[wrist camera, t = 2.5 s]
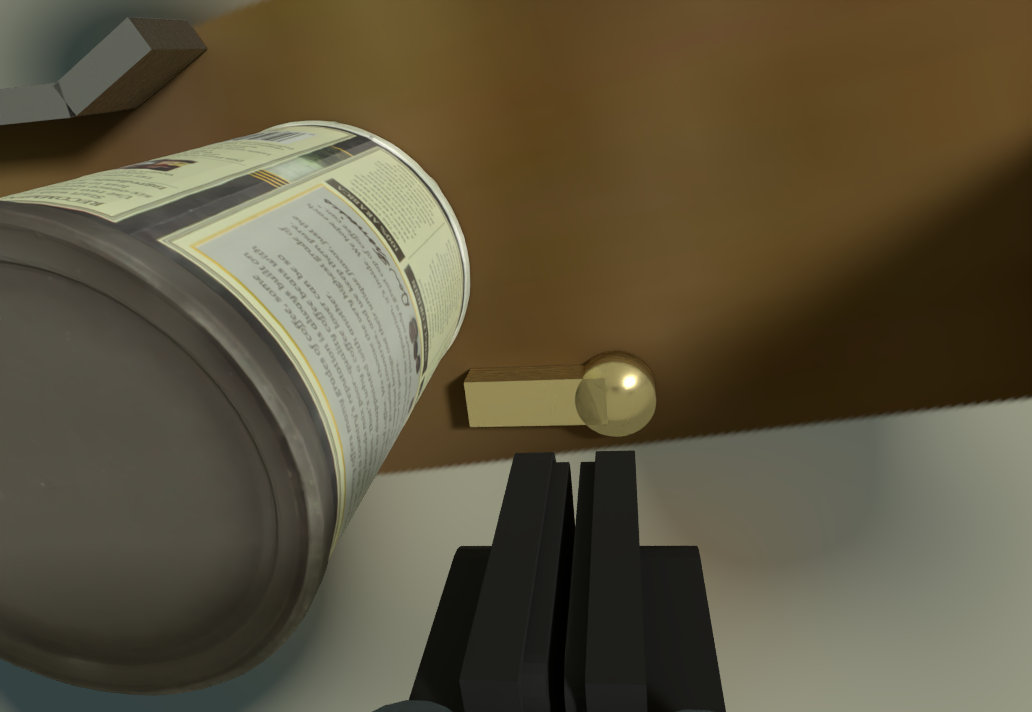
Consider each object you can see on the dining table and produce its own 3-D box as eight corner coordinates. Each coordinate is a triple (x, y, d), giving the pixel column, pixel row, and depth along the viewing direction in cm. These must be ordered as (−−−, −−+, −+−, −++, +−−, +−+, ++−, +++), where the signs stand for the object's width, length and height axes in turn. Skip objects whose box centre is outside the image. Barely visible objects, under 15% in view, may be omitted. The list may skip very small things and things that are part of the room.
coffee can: (321, 439, 29) (77, 758, 16) (142, 226, 26) (-323, 402, 13) (532, 312, 25) (437, 587, 13) (350, 52, 23) (-6, 62, 10)
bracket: (199, 18, 23) (119, 14, 19) (311, 472, 29) (267, 532, 26) (-146, 62, 25) (-276, 65, 21) (29, 474, 32) (-48, 531, 28)
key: (654, 349, 25) (655, 363, 24) (656, 419, 26) (657, 435, 25) (468, 356, 26) (461, 369, 25) (477, 423, 27) (471, 439, 26)
